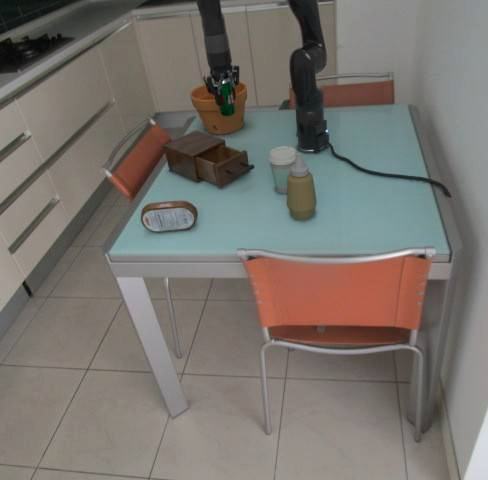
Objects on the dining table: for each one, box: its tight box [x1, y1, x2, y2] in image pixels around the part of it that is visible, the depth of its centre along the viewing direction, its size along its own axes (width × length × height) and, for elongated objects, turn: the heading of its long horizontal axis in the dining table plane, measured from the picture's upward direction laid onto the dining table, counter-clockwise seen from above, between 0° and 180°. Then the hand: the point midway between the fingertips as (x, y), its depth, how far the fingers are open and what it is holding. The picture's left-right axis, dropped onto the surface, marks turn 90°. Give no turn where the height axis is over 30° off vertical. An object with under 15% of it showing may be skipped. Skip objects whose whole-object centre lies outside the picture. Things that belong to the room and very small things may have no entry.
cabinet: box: [163, 129, 227, 184], centre depth 152 cm, size 15×14×9 cm
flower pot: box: [189, 81, 248, 135], centre depth 176 cm, size 21×21×15 cm
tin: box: [140, 199, 199, 233], centre depth 124 cm, size 15×3×8 cm, turn 92°
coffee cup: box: [267, 145, 298, 194], centre depth 135 cm, size 8×8×12 cm
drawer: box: [195, 144, 255, 190], centre depth 144 cm, size 19×12×7 cm, turn 47°
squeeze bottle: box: [286, 152, 318, 221], centre depth 121 cm, size 8×8×18 cm
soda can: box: [215, 77, 236, 116], centre depth 152 cm, size 5×5×12 cm
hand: (226, 102), depth 153 cm, fingers closed on soda can, 5 cm apart
